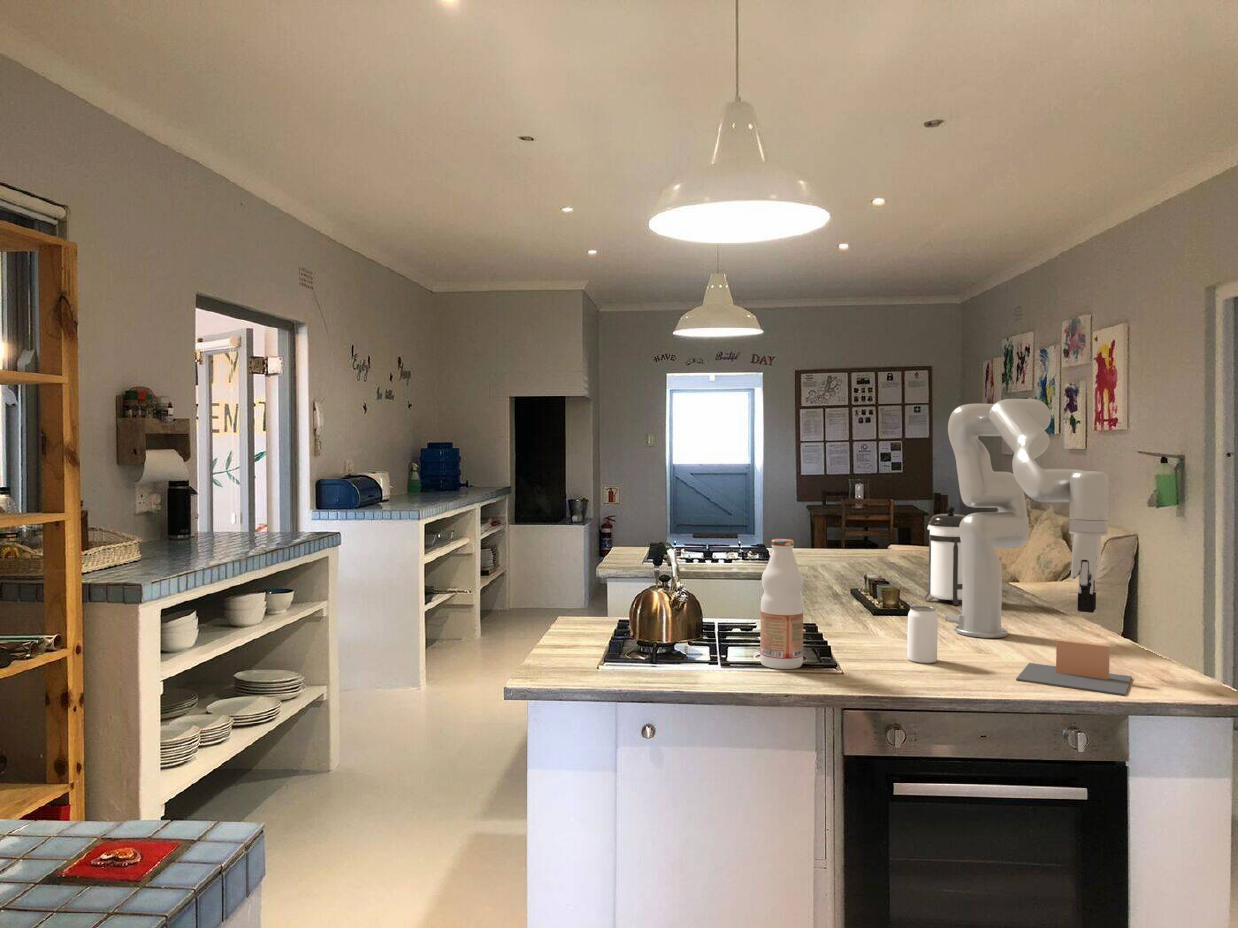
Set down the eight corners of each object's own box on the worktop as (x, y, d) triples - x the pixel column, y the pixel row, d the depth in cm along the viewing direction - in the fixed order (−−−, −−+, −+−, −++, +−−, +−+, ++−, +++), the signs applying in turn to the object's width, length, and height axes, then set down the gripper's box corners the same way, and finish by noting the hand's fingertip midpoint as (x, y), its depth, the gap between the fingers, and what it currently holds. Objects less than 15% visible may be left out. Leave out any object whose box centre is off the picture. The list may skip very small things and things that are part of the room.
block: (1055, 672, 192) (1056, 640, 192) (1057, 671, 193) (1057, 638, 193) (1108, 679, 186) (1109, 646, 186) (1109, 678, 188) (1110, 645, 188)
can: (936, 658, 206) (937, 606, 206) (937, 664, 200) (938, 611, 199) (907, 655, 208) (908, 604, 208) (906, 662, 202) (907, 609, 202)
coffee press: (929, 605, 271) (930, 507, 271) (920, 596, 287) (921, 503, 286) (989, 607, 269) (990, 508, 268) (976, 598, 284) (978, 504, 283)
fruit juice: (763, 669, 195) (765, 542, 194) (757, 659, 204) (758, 537, 203) (806, 670, 195) (808, 542, 194) (798, 659, 204) (799, 537, 203)
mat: (1016, 680, 187) (1016, 678, 187) (1029, 664, 200) (1029, 662, 200) (1125, 695, 176) (1125, 693, 176) (1131, 678, 189) (1131, 676, 189)
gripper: (1073, 523, 204) (1072, 603, 205) (1064, 529, 191) (1062, 614, 192) (1111, 525, 200) (1109, 607, 201) (1103, 531, 187) (1102, 618, 187)
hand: (1086, 610), depth 196 cm, fingers closed
